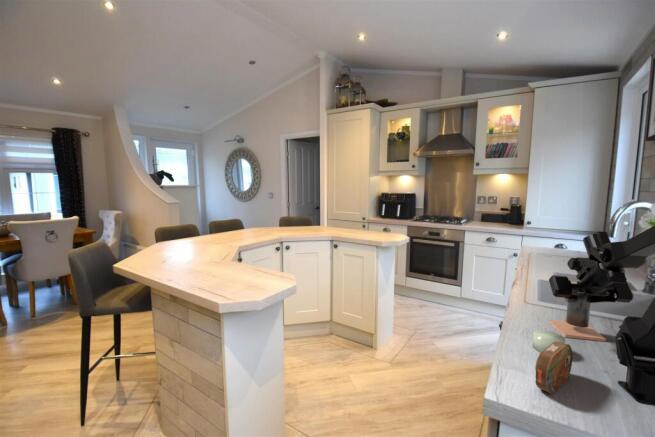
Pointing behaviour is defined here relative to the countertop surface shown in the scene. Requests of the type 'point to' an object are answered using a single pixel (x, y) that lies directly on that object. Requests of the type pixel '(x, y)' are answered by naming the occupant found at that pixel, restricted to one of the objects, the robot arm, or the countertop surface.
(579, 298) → the canister
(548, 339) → the pale green rounded piece
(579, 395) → the countertop surface
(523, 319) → the countertop surface
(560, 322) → the plate
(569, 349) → the tin
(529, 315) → the countertop surface
